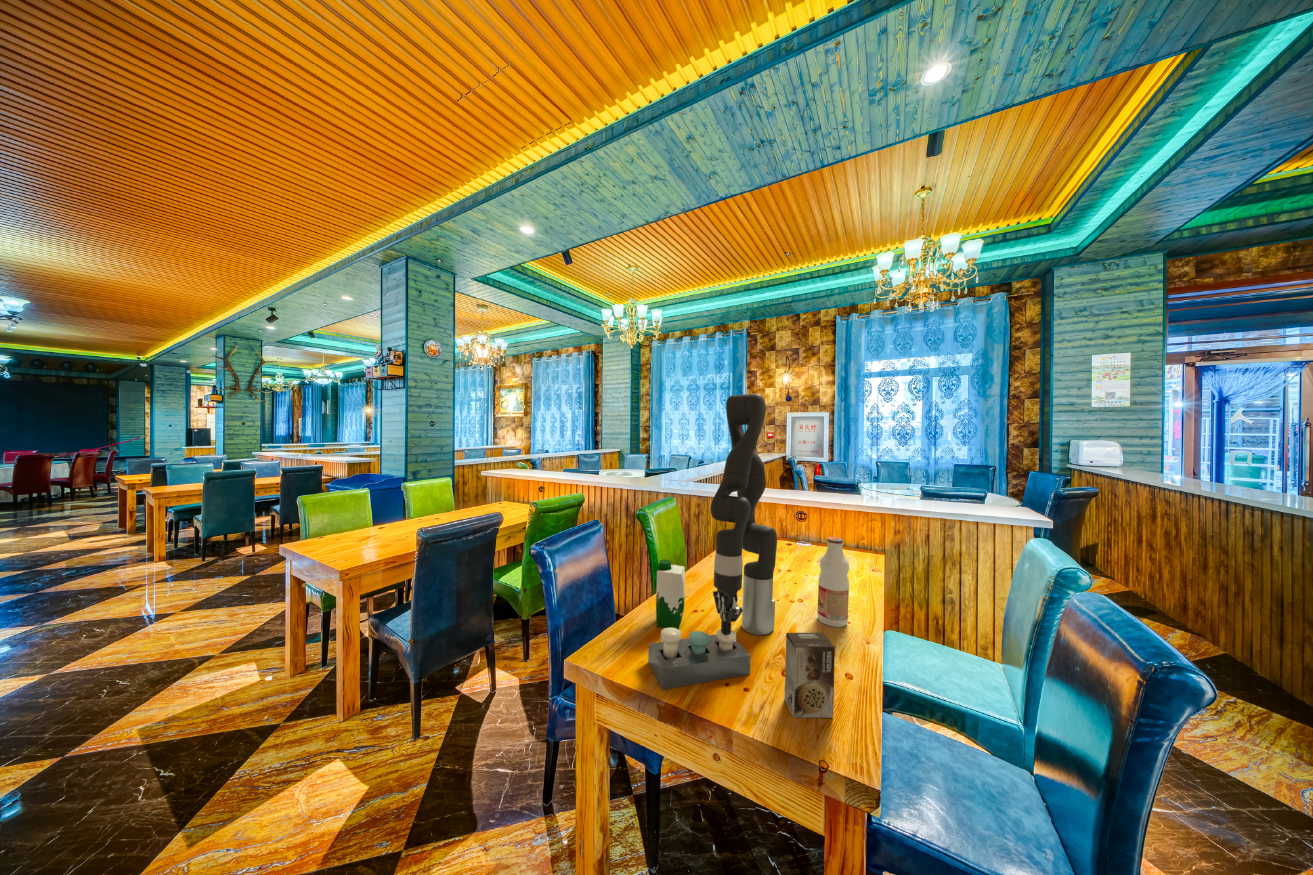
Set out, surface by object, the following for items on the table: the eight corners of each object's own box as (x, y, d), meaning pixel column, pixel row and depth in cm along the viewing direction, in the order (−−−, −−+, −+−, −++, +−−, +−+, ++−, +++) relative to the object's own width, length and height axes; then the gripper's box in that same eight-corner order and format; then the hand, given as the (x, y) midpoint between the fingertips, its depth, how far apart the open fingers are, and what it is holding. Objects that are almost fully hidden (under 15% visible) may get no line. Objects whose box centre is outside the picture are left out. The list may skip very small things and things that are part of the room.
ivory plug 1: (676, 648, 107) (676, 626, 107) (683, 659, 102) (684, 636, 102) (657, 651, 105) (658, 628, 105) (663, 662, 100) (664, 638, 100)
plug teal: (703, 651, 109) (703, 630, 109) (711, 662, 104) (712, 639, 104) (685, 654, 108) (686, 632, 108) (693, 665, 103) (693, 642, 103)
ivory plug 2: (729, 649, 112) (730, 627, 112) (738, 659, 107) (739, 637, 107) (712, 651, 110) (713, 630, 110) (721, 662, 105) (722, 639, 105)
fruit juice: (839, 630, 129) (842, 544, 128) (811, 619, 136) (814, 537, 136) (852, 622, 135) (855, 539, 134) (825, 612, 142) (828, 533, 142)
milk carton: (658, 615, 135) (660, 556, 135) (685, 619, 134) (687, 559, 133) (653, 628, 127) (655, 565, 127) (681, 631, 125) (683, 568, 125)
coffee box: (821, 699, 95) (823, 631, 95) (834, 718, 89) (836, 646, 88) (783, 699, 95) (785, 631, 95) (793, 718, 88) (795, 646, 88)
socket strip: (727, 649, 116) (728, 632, 115) (749, 674, 104) (750, 655, 104) (648, 662, 108) (648, 643, 108) (662, 689, 97) (663, 669, 97)
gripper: (753, 577, 103) (750, 644, 103) (729, 561, 116) (726, 620, 116) (727, 579, 101) (724, 648, 101) (705, 562, 113) (702, 623, 114)
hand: (725, 633), depth 108 cm, fingers closed
